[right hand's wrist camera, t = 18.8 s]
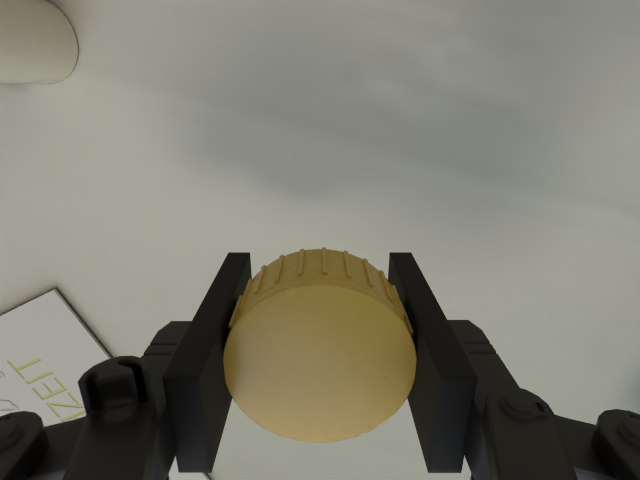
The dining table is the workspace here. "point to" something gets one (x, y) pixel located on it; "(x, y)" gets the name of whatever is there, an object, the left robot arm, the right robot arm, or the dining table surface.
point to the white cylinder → (35, 43)
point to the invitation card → (50, 363)
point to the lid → (319, 347)
